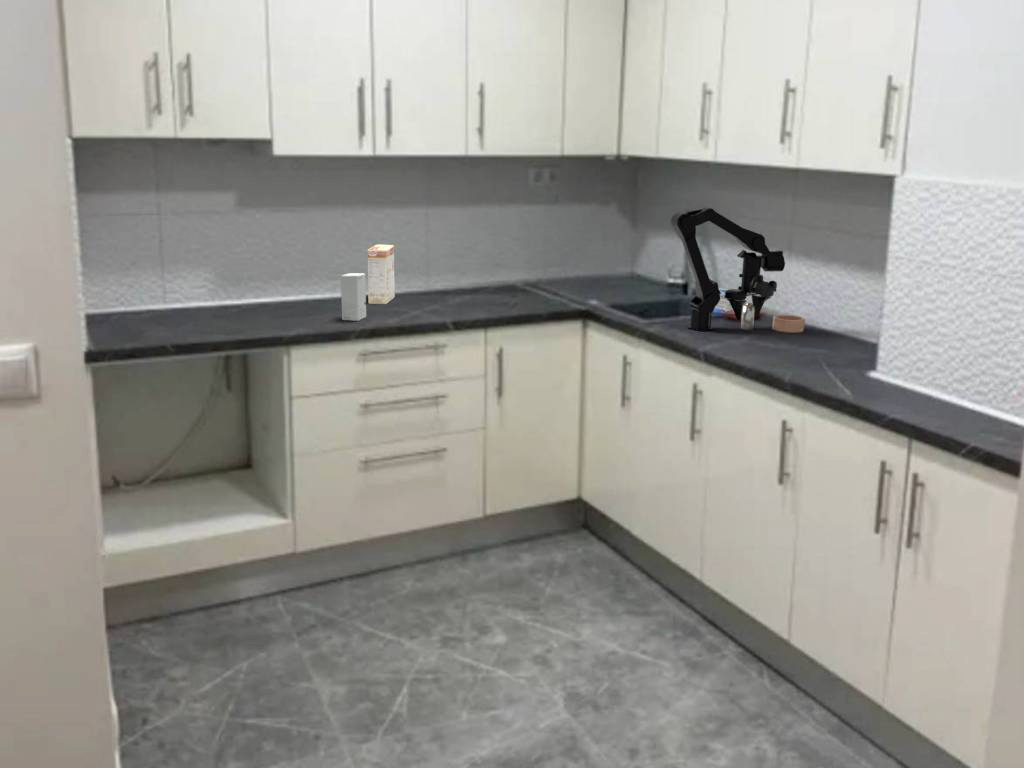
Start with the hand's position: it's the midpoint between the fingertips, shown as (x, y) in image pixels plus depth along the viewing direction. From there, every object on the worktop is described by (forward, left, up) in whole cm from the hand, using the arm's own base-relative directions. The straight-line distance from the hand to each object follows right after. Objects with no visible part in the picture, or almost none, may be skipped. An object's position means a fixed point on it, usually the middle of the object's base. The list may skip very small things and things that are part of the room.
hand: (747, 318), depth 342 cm
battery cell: (0, 0, -3) cm, 3 cm away
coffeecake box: (-72, +108, -4) cm, 131 cm away
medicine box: (+16, +22, -4) cm, 27 cm away
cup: (+10, -9, -3) cm, 14 cm away
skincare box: (-99, +84, -4) cm, 130 cm away
